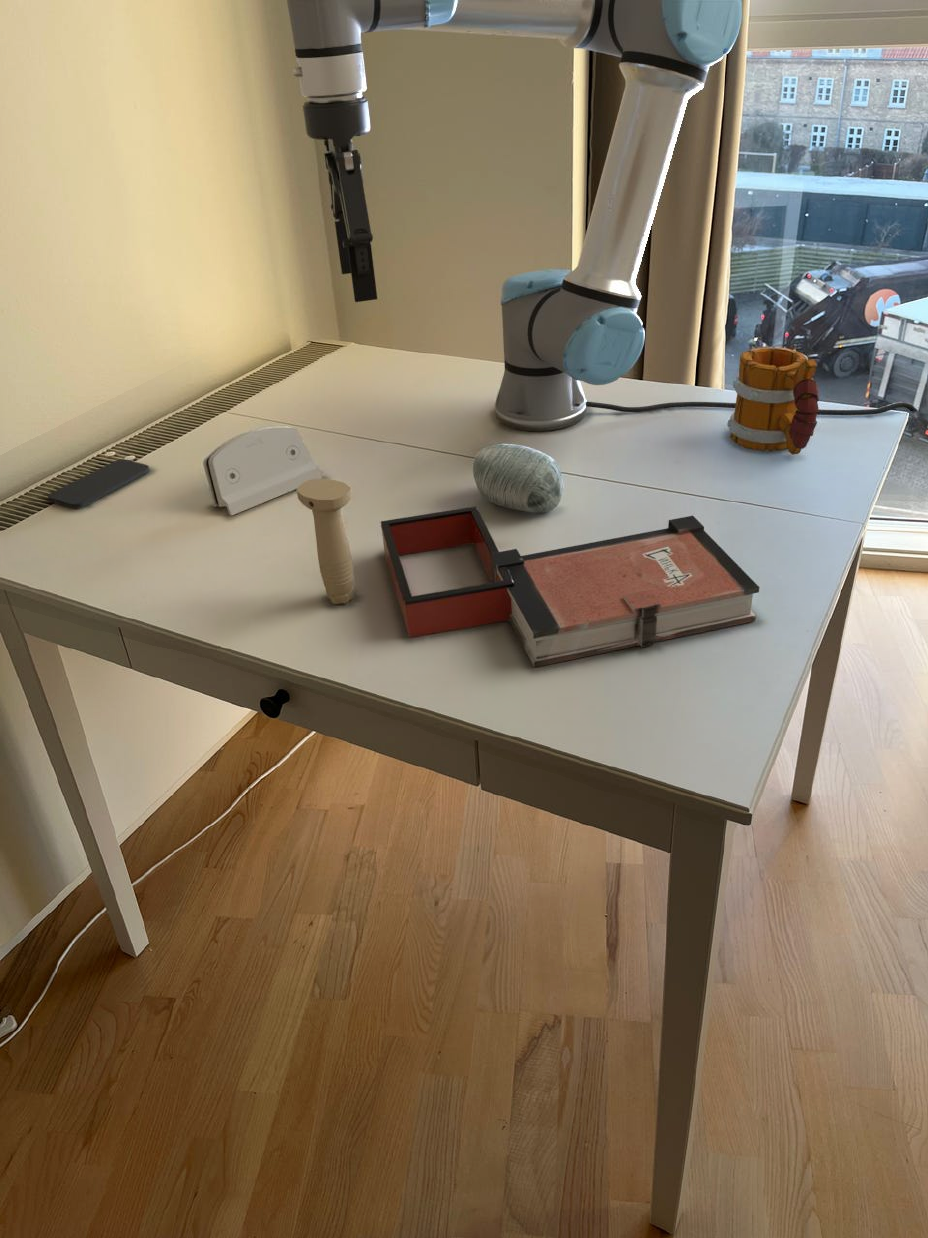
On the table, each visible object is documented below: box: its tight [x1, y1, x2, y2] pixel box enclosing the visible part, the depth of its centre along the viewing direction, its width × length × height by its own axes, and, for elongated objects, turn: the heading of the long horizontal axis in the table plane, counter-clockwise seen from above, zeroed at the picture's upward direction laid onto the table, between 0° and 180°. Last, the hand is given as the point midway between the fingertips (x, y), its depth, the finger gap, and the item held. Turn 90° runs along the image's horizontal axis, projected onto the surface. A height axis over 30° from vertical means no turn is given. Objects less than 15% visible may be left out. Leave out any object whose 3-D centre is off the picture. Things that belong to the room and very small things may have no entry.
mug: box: [726, 346, 820, 455], centre depth 142 cm, size 11×16×15 cm, turn 18°
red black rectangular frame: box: [380, 505, 514, 638], centre depth 117 cm, size 13×20×5 cm, turn 12°
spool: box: [472, 443, 564, 514], centre depth 133 cm, size 14×10×10 cm
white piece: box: [202, 425, 323, 516], centre depth 142 cm, size 17×5×10 cm, turn 132°
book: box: [490, 515, 760, 668], centre depth 111 cm, size 26×18×5 cm
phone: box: [47, 458, 151, 509], centre depth 149 cm, size 7×1×15 cm
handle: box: [296, 478, 355, 605], centre depth 113 cm, size 5×6×15 cm
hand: (358, 285), depth 122 cm, fingers open, 13 cm apart
